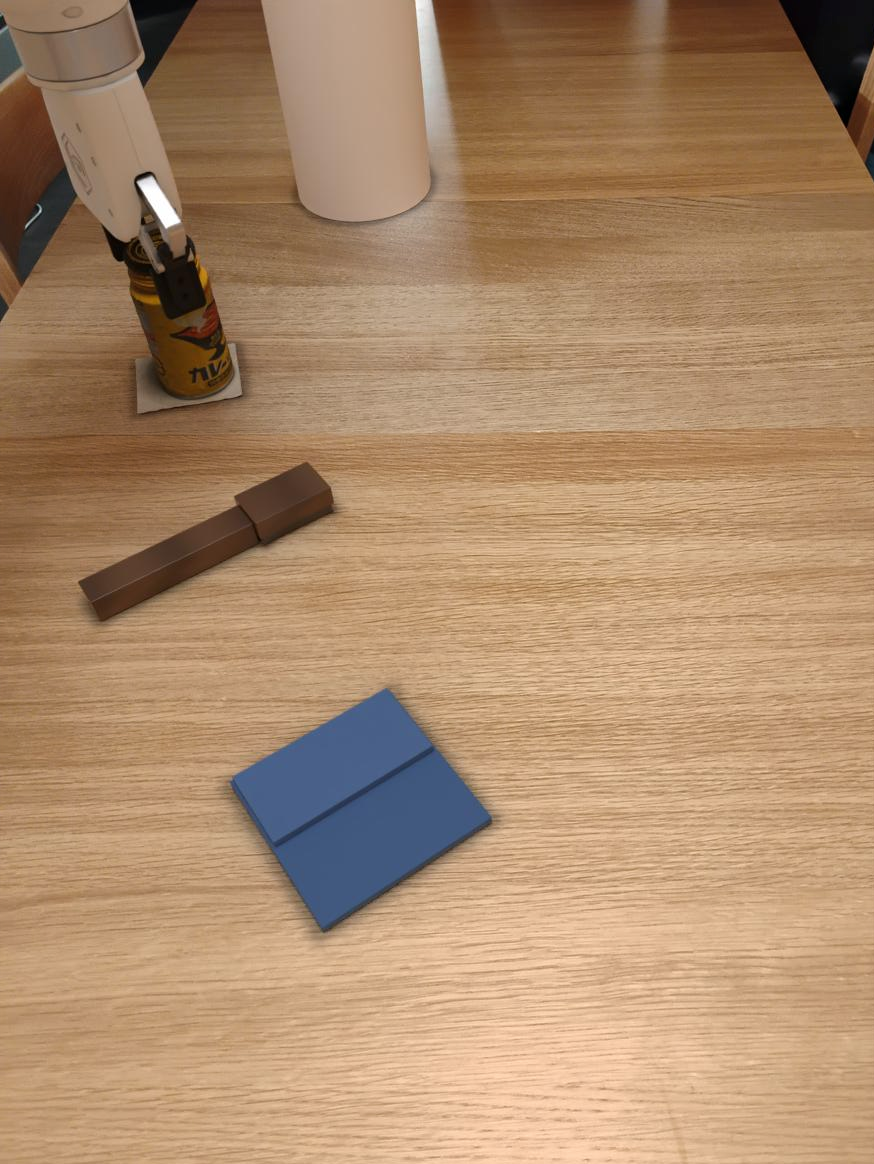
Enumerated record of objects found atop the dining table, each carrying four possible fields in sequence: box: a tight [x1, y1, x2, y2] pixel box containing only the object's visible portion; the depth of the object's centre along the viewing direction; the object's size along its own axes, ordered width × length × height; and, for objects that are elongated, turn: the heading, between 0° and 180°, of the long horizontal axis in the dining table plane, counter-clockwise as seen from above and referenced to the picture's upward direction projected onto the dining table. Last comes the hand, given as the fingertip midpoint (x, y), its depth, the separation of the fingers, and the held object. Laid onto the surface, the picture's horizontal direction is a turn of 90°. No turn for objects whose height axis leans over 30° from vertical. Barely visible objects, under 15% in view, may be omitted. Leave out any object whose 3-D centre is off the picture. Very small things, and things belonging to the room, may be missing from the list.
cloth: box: [229, 687, 493, 932], centre depth 57 cm, size 11×11×1 cm
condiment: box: [123, 232, 243, 415], centre depth 79 cm, size 7×8×12 cm
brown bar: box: [77, 461, 335, 622], centre depth 70 cm, size 18×4×2 cm, turn 125°
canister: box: [261, 0, 432, 223], centre depth 94 cm, size 14×14×20 cm
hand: (159, 282), depth 77 cm, fingers open, 9 cm apart
